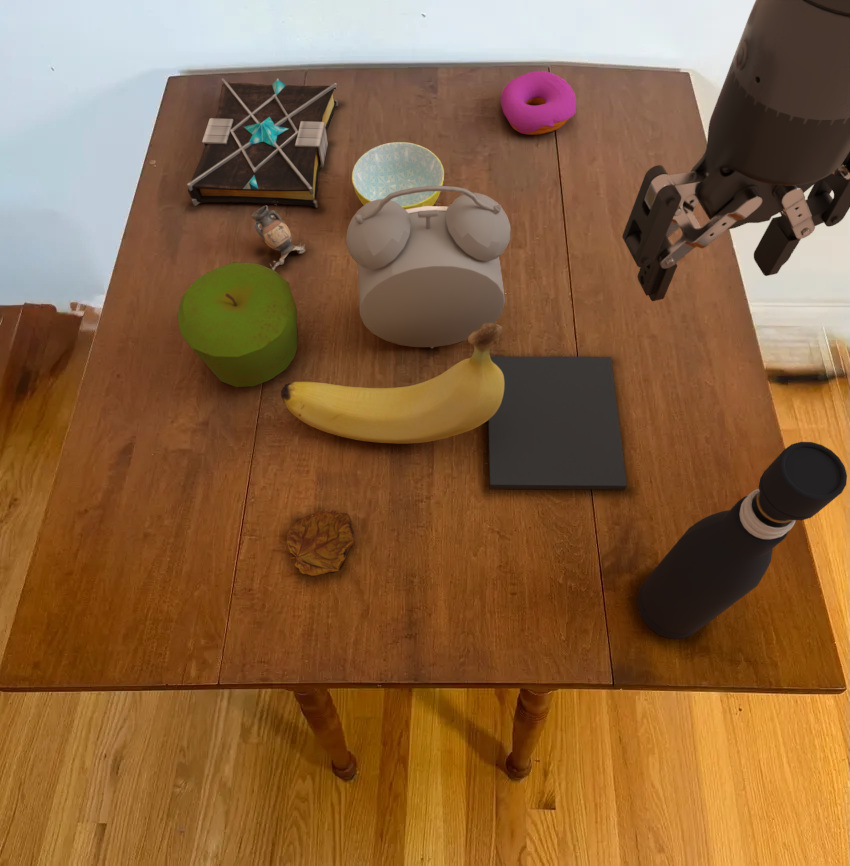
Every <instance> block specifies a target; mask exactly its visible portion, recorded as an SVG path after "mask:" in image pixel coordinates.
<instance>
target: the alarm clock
mask: <svg viewBox="0 0 850 866" xmlns="http://www.w3.org/2000/svg"><path fill="white" fill-rule="evenodd" d="M426 191H441V192H447V193H457V194H458V193H459V194H462V195H459V196H457V197H456V198H455V199H454V200H453V201H452V202H451V204H450V205H449V206H446V205H444V206H442V205H441V206H440V205H438V206H437V205H433V206H424V207H418V208H411V209H406V210H405V209H404V208H402V207H401V206H400V205H399V204H398V203H396V202H394V201H392V200H391V199H392V198H395V197H399V196H402V195H407V194H412V193H419V192H426ZM511 226H512V225H511V223H510V220H509V217H508V215H507V213H506V212H505V210H504V208H503V206H502V205H501V204H499V203H498V202H497V201H496V200H495V199H493V198H491V197H490V196H488V195H487V194H483V193H479V192H472V191H470V190H468V189H467V188H464V187H458V186H453V185H452V186H449V185H443V186H423V187H415V188H410V189H405V190H400V191H397V192H394V193H391V194H389V195H388V196H387V197H385V198H384V199H378V200H374V201H371V202H369V203H367V204H365V205H363V206H361V207H360V208H359V209H358V210H357V211H356V212H355V214H354V215H353V216H352V217H351V220H350V222H349V224H348V227H347V230H346V237H345V240H346V241H345V243H346V247H347V251H348V253H349V255H350V256H351V258H352V260H354V261H355V262H356V263H357V276H358V277H357V278H358V279H357V280H358V282H357V283H358V303H359V306H358V307H359V316H360V319H361V321H362V323H363V325H364V326H365V327H366V328H367V329H368V330H369V331H370V332H371V334H373V335H375V336H377V337H378V338H380V339H382V340H383V341H385V342H389V343H393V344H395V345H398V346H406V347H413V348H430V349H434V348H436V347H445V346H450V345H454V344H457V343H461V342H465V341H468V337H469V336H470V335H471V333H472V332H474V331H476V330H478V329H479V328H481V326H482V325H483V324H484V323H496V322H497V321H498V320H499V318H500V317H501V316H502V313H503V310H504V308H505V305H506V298H505V289H504V282H503V274H502V267H501V260H500V259H501V258H500V256H501V255H502V254H503V253H504V252H505V250H506V249H507V247H508V245H509V244H510V242H511V233H512V231H511V228H512V227H511Z"/></svg>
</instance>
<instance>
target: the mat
mask: <svg viewBox="0 0 850 866" xmlns="http://www.w3.org/2000/svg"><path fill="white" fill-rule="evenodd" d="M490 358H491V361H492V362H493V363H494V364H496V365H497V366H498V367H499V368H500V370H501V371H502V373H503V376H504V394H503V398H502V402H501V405H500V407H499V408H498V410H497V412H496V413H495V414H494V415H493V416H492V417H491V418H490V419H489V420H487V437H488V438H487V439H488V441H487V443H488V444H487V445H488V477H489V480H488V481H489V489H495V490H496V489H497V490H498V489H500V490H501V489H504V490H505V489H507V490H509V489H510V490H516V489H517V490H518V489H519V490H613V491H614V490H615V491H617V490H618V491H622V490H623V491H625V490H626V488H627V486H628V483H627V482H628V481H627V477H626V476H627V475H626V468H625V467H626V466H625V460H624V452H623V451H624V450H623V443H622V434H621V428H620V421H619V420H620V419H619V411H618V403H617V396H616V388H615V380H614V372H613V365H612V364H613V363H612V357H611V356H490Z"/></svg>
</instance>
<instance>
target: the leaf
mask: <svg viewBox="0 0 850 866" xmlns="http://www.w3.org/2000/svg"><path fill="white" fill-rule="evenodd" d="M353 528H354V527H353V521H352V518H351V516H350V514H349V513H347V512H338V511H336V510H334V509H332V510H331V511H328V510H326V511H324V510H318V511H314V512H313V513H312V514H311V515H308V516H307V517H305V518H302V519H301V520H299V521H298V522H295V523H293V524H292V526H291V527H290V529H289V531H288V533H287V535H285V536H286V538H287V539H286V540H285V542H286V544H287V547H288V551H289V553H290V554H293V555H294V556H295V557H294V556H293V557H289V559H296V561H295V563H294V567H295V568H297V569H298V571H299V573H300V574H302V575H307V576H312V577H314V576H315V577H316V576H319V575H324V574H327V573H335V572H339V571H340V567H341V566H342V564H343V563H344V562H345V560H346V557H347V554H348V551H349V549H350V548H351V547H352V546H353V545H354V544H355V534H354V529H353Z"/></svg>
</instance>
